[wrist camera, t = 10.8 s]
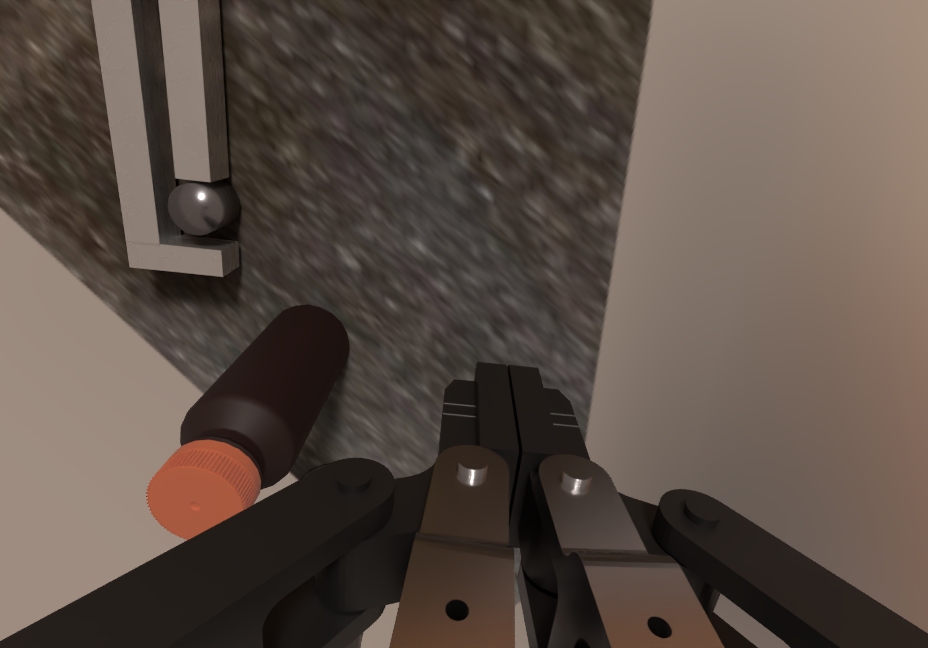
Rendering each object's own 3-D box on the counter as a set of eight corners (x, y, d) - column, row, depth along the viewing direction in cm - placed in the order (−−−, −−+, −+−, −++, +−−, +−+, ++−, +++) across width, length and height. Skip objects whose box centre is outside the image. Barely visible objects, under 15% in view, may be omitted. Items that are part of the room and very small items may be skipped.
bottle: (337, 385, 46) (247, 572, 27) (262, 359, 45) (116, 534, 26) (360, 320, 43) (279, 476, 25) (281, 291, 43) (136, 430, 24)
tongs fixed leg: (239, 265, 41) (223, 276, 38) (152, 256, 41) (129, 267, 38) (217, -105, 32) (193, -125, 29) (105, -119, 32) (71, -141, 29)
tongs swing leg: (241, 228, 40) (221, 238, 37) (194, 222, 40) (170, 232, 37) (224, -103, 32) (197, -126, 29) (165, -111, 32) (132, -134, 29)
